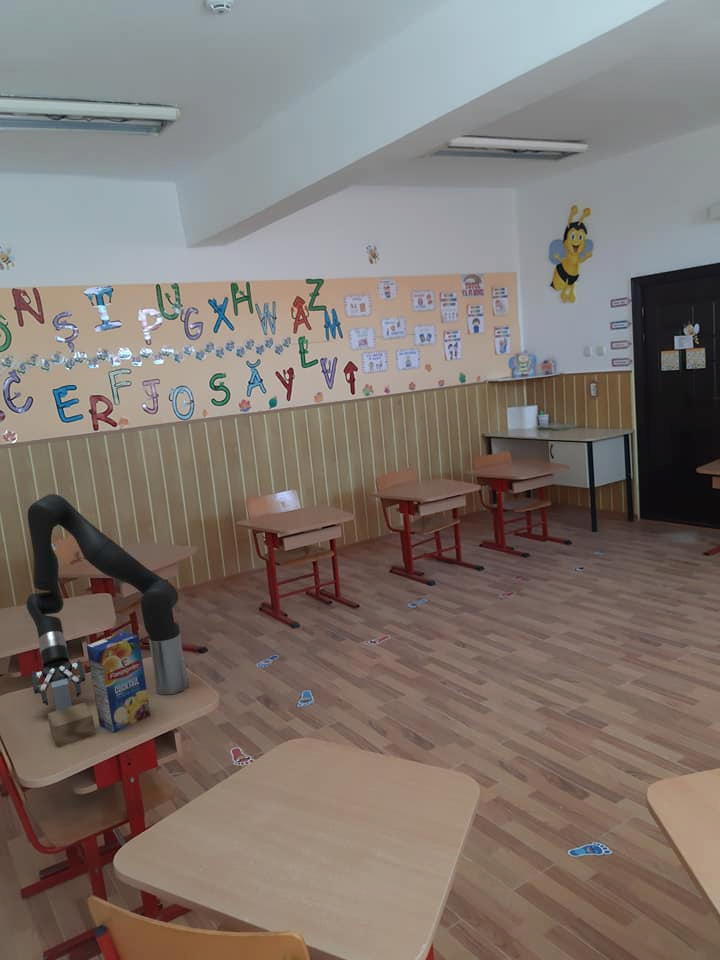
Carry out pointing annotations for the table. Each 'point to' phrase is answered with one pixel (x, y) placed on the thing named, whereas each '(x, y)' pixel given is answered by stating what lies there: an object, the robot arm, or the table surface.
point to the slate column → (61, 694)
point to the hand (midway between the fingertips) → (62, 699)
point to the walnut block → (71, 724)
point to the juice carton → (118, 681)
